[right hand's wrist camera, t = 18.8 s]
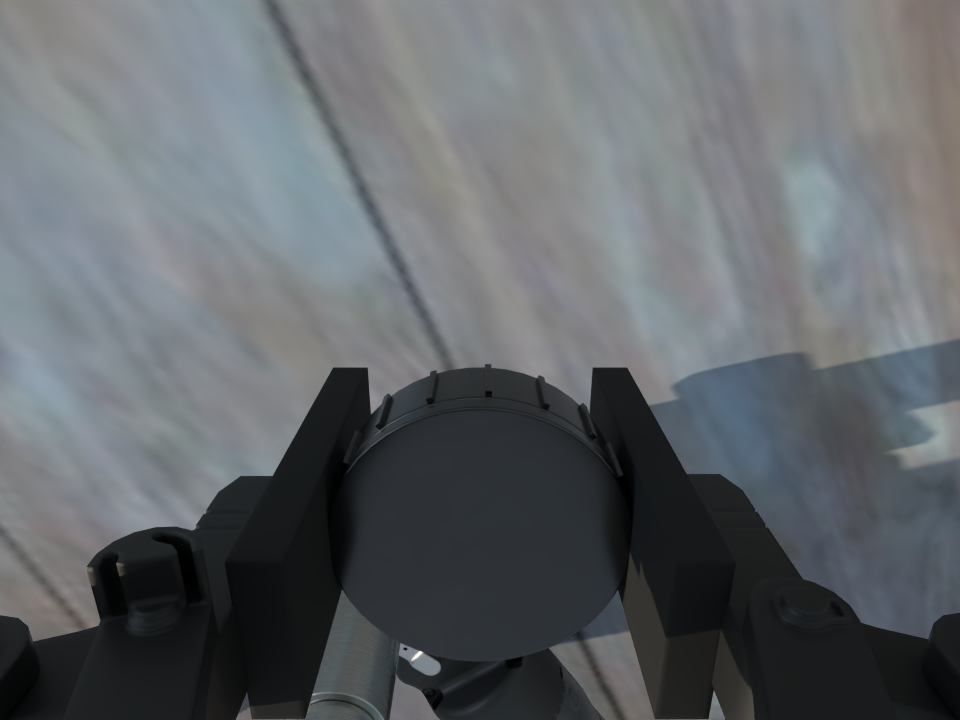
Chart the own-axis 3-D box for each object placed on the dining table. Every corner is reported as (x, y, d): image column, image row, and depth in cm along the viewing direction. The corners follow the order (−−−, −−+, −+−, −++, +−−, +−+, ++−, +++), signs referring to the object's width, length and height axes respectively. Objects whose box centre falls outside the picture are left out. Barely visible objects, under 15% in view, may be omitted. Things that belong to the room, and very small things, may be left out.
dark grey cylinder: (359, 516, 43) (277, 799, 26) (356, 461, 41) (268, 723, 24) (422, 518, 43) (383, 801, 26) (422, 463, 41) (380, 725, 24)
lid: (676, 476, 12) (704, 530, 11) (495, 640, 14) (497, 709, 12) (462, 304, 11) (459, 337, 9) (288, 505, 12) (261, 562, 11)
